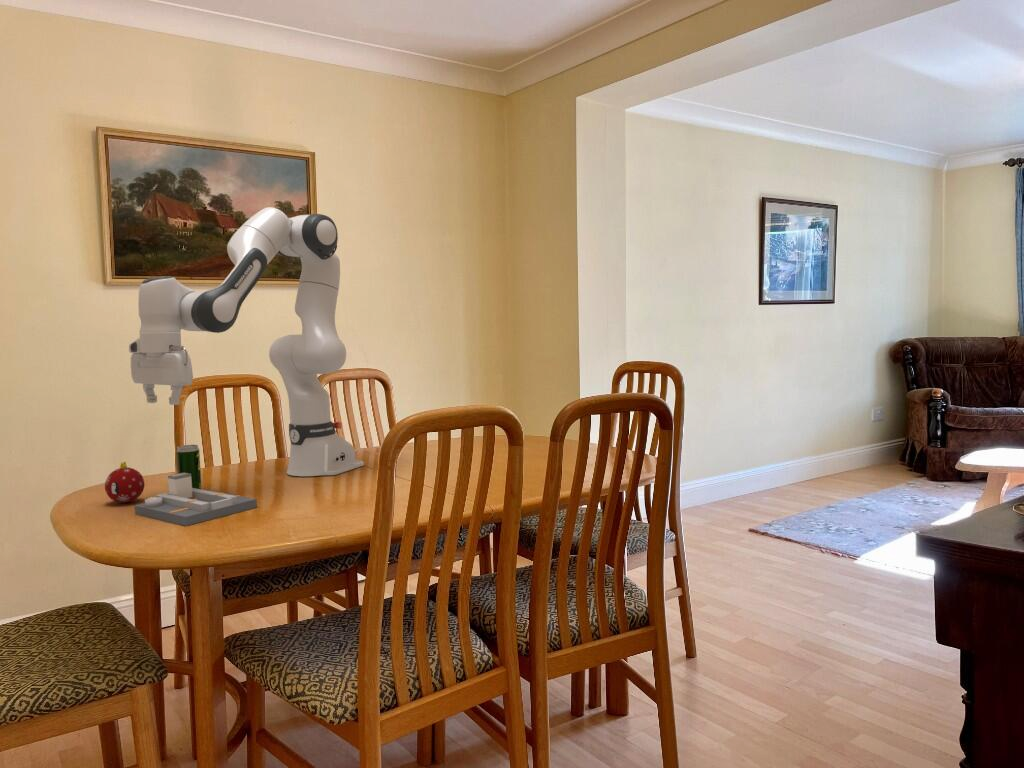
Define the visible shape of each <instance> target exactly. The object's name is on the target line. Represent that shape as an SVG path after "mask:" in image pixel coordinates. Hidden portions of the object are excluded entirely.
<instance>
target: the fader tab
mask: <svg viewBox="0 0 1024 768" xmlns="http://www.w3.org/2000/svg"><path fill="white" fill-rule="evenodd" d="M167 482H168V484H167V485H168V492H169V495H173V496H178V497H183V498H191V497H193V495H192V480H191V474H189V473H179V474H178V473H175V474H170V475H169V474H168V475H167Z"/></svg>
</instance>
